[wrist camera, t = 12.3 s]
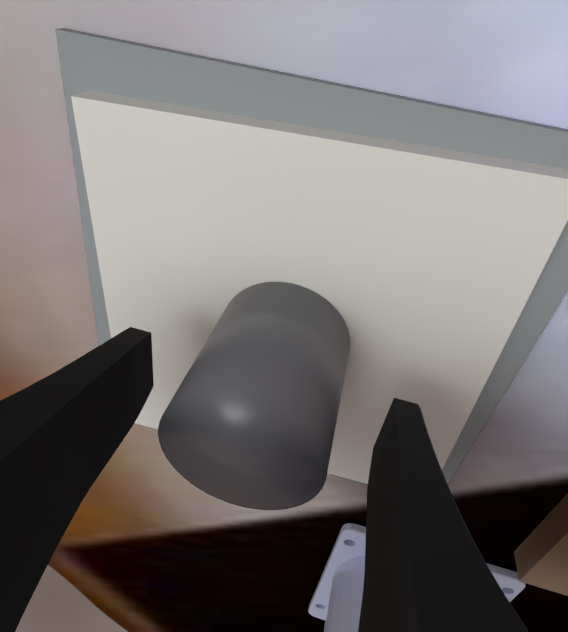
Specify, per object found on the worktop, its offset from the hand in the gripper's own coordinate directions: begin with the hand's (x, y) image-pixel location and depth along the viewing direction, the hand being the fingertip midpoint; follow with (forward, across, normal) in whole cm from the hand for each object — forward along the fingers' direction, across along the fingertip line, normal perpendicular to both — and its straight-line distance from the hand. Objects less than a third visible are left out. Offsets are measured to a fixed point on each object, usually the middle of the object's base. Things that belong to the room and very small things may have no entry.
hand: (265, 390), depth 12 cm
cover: (+3, 0, 0) cm, 3 cm away
